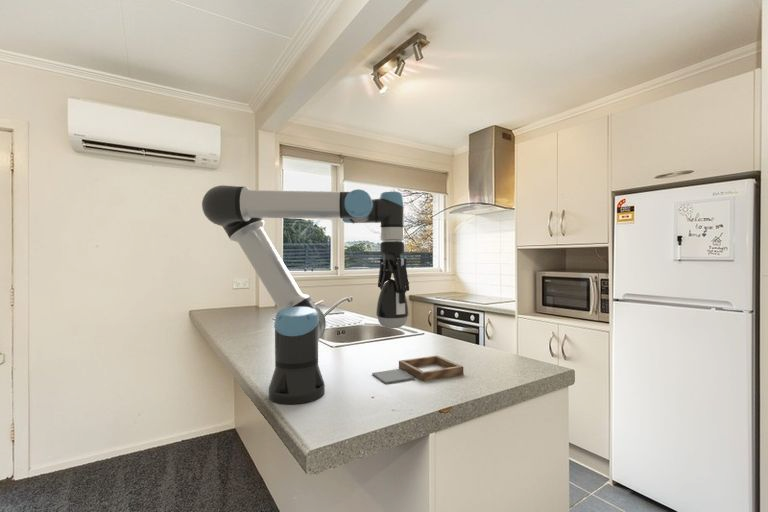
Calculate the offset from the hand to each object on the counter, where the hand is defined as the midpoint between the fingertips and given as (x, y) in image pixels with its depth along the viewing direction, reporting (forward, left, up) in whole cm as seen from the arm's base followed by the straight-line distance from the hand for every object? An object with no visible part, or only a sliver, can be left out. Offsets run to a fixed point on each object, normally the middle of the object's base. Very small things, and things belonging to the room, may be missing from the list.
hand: (392, 311), depth 118 cm
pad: (0, 0, -21) cm, 21 cm away
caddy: (+14, 0, -21) cm, 25 cm away
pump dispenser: (0, 0, -5) cm, 5 cm away
